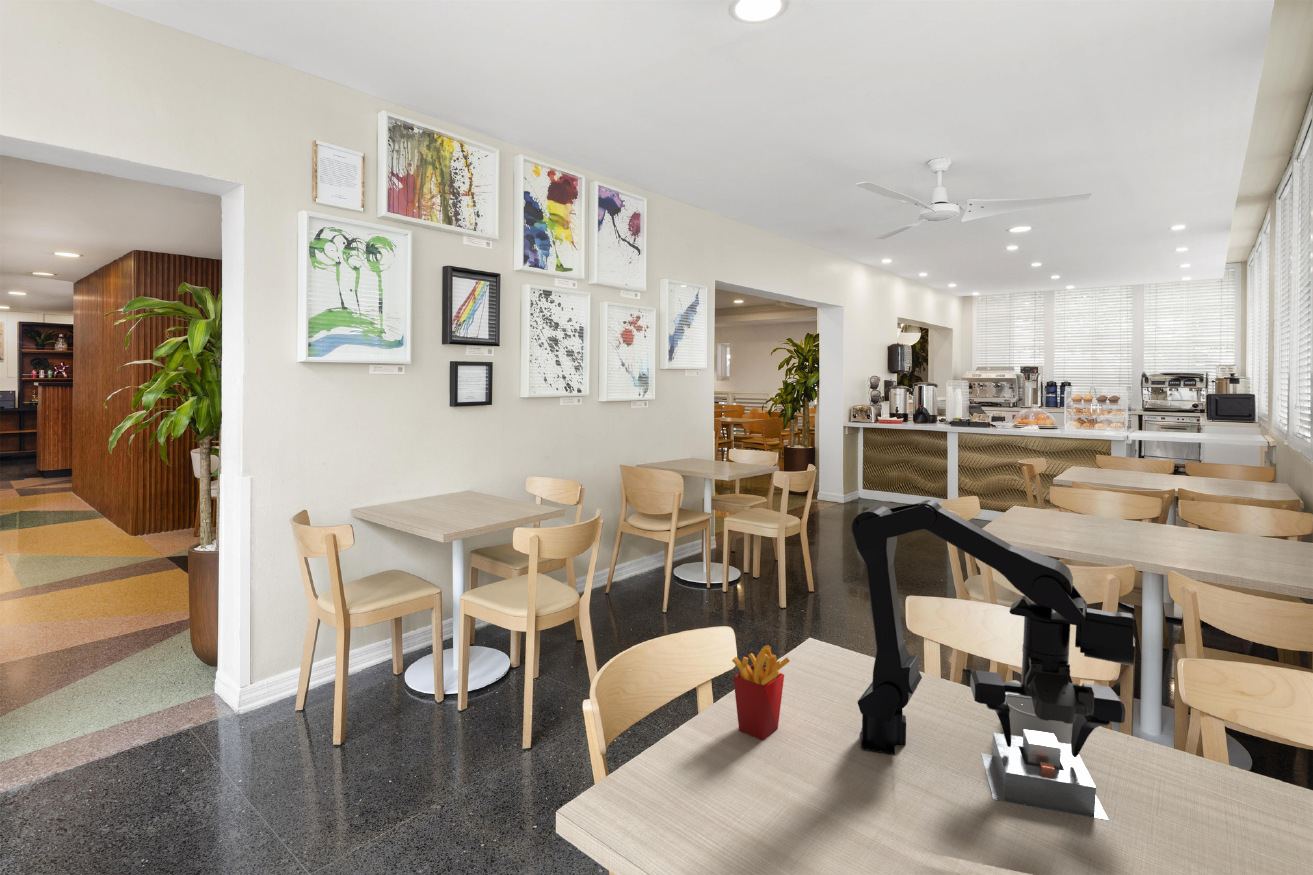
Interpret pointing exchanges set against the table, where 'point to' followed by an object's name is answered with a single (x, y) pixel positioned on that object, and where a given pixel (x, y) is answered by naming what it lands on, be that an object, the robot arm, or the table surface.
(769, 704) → the french fries
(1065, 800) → the housing
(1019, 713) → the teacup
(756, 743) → the table surface
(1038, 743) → the column
